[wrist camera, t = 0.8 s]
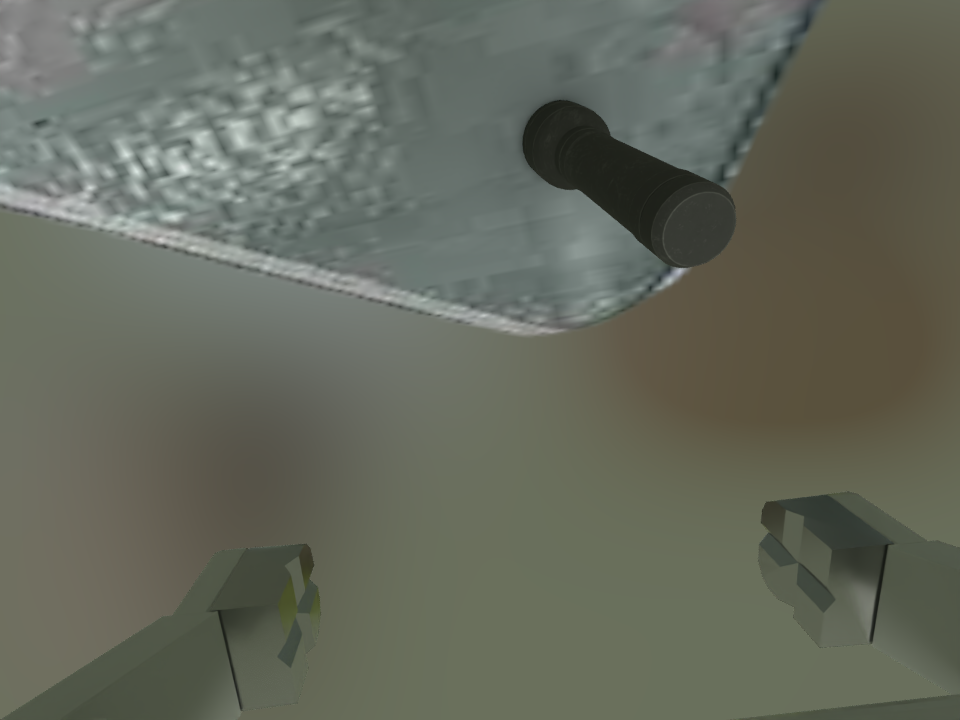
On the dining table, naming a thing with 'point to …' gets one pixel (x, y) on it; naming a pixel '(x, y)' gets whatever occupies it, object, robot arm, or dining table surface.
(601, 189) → the flashlight
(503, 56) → the dining table surface
